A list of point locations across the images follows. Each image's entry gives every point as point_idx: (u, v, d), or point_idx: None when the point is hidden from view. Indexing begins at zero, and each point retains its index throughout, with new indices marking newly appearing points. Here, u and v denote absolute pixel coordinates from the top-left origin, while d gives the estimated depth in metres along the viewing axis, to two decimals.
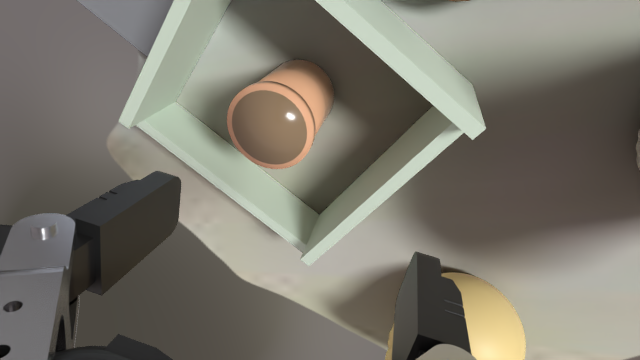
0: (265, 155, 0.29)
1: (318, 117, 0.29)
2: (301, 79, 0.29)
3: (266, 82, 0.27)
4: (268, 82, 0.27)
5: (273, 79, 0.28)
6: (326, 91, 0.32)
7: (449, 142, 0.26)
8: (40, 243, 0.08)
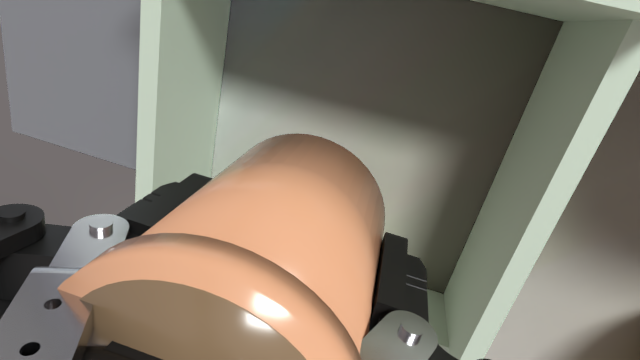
0: None
1: (353, 280, 0.08)
2: (258, 184, 0.09)
3: (108, 252, 0.07)
4: (115, 249, 0.07)
5: (161, 223, 0.08)
6: (352, 184, 0.11)
7: (634, 71, 0.14)
8: (94, 243, 0.09)
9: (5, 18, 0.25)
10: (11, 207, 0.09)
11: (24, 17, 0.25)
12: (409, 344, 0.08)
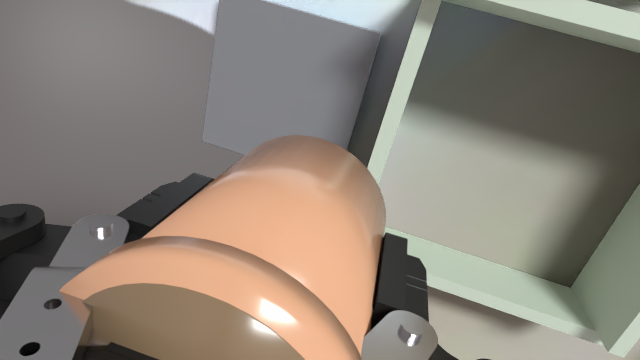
0: None
1: (355, 282, 0.08)
2: (259, 186, 0.09)
3: (109, 255, 0.07)
4: (116, 252, 0.07)
5: (162, 225, 0.08)
6: (353, 186, 0.11)
7: None
8: (94, 243, 0.09)
9: (218, 48, 0.30)
10: (11, 207, 0.09)
11: (237, 48, 0.30)
12: (409, 344, 0.08)
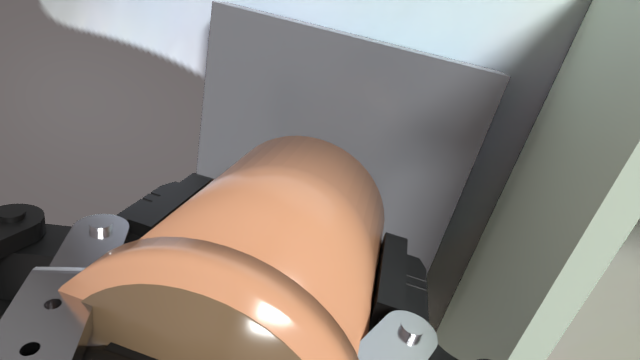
0: None
1: (352, 283, 0.08)
2: (257, 187, 0.09)
3: (107, 255, 0.07)
4: (114, 252, 0.07)
5: (160, 226, 0.08)
6: (351, 187, 0.11)
7: None
8: (94, 242, 0.09)
9: (211, 102, 0.18)
10: (11, 208, 0.09)
11: (243, 102, 0.17)
12: (409, 344, 0.08)
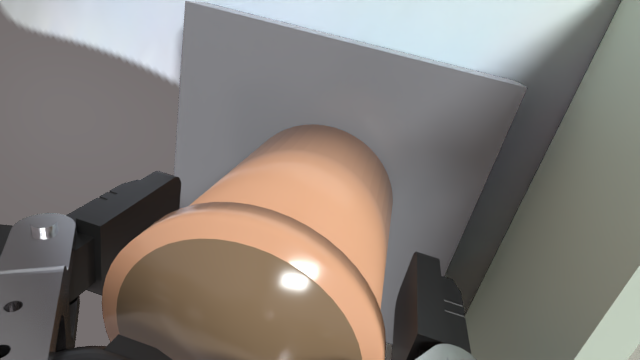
0: None
1: (371, 248, 0.10)
2: (286, 166, 0.10)
3: (167, 217, 0.08)
4: (172, 215, 0.08)
5: (204, 197, 0.09)
6: (365, 169, 0.13)
7: None
8: (40, 243, 0.08)
9: (187, 114, 0.16)
10: None
11: (222, 114, 0.15)
12: None
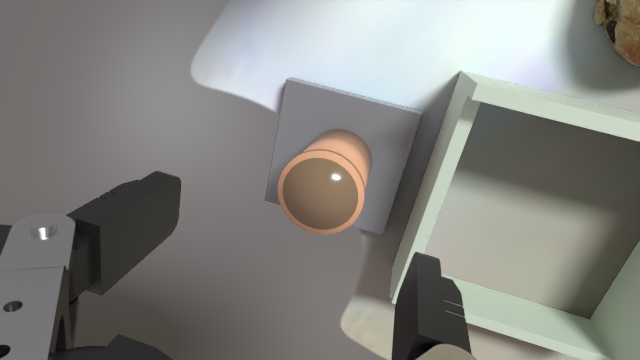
0: (325, 222, 0.29)
1: (361, 168, 0.30)
2: (332, 142, 0.30)
3: (301, 153, 0.28)
4: (303, 153, 0.28)
5: (307, 150, 0.29)
6: (360, 146, 0.33)
7: None
8: (40, 243, 0.08)
9: (282, 125, 0.36)
10: None
11: (298, 125, 0.35)
12: None
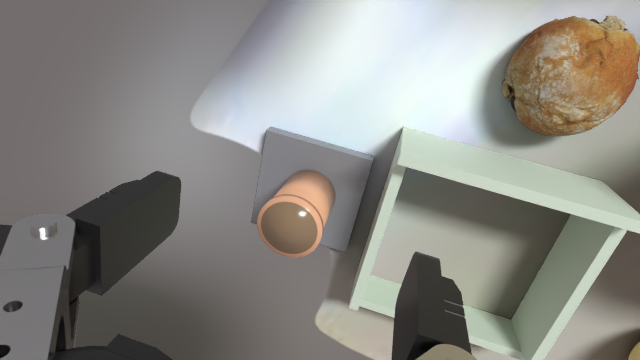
0: (294, 248, 0.38)
1: (321, 206, 0.38)
2: (300, 185, 0.39)
3: (275, 197, 0.37)
4: (276, 197, 0.37)
5: (280, 193, 0.38)
6: (323, 185, 0.41)
7: (620, 238, 0.33)
8: (40, 243, 0.08)
9: (264, 165, 0.44)
10: None
11: (277, 165, 0.44)
12: None
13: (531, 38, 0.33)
